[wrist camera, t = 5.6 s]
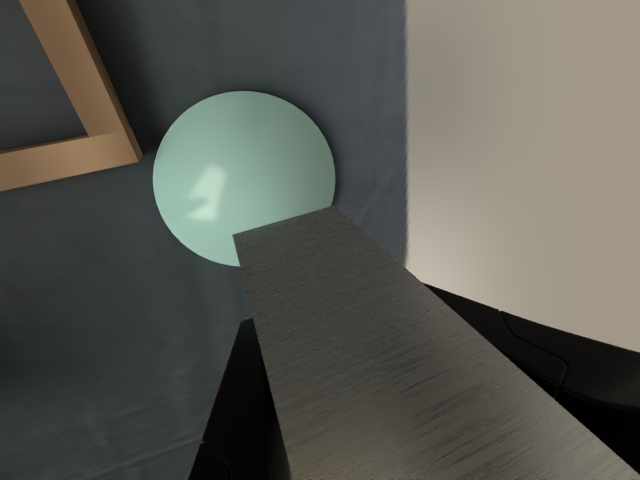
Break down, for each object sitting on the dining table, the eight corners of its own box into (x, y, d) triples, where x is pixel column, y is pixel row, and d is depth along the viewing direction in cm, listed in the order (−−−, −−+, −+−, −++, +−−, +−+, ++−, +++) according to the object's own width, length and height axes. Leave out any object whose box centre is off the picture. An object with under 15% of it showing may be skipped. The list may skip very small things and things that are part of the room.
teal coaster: (320, 75, 18) (324, 75, 17) (339, 236, 23) (342, 239, 23) (116, 111, 15) (114, 111, 14) (193, 282, 21) (193, 287, 20)
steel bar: (334, 205, 10) (676, 507, 3) (343, 284, 12) (573, 594, 5) (232, 234, 10) (360, 753, 2) (258, 314, 11) (378, 747, 4)
